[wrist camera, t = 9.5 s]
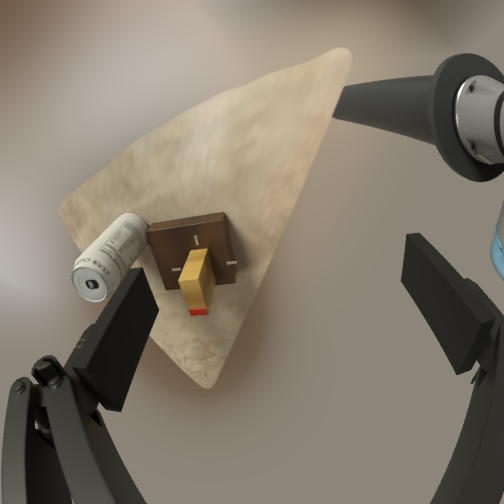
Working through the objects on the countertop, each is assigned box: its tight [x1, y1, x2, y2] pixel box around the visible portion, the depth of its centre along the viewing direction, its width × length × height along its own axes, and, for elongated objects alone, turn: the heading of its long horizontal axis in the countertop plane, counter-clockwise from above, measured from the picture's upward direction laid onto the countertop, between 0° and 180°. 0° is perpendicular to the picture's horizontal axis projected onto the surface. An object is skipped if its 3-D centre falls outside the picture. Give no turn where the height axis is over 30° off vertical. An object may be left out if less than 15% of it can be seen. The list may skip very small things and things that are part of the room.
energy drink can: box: [72, 213, 149, 302], centre depth 35 cm, size 6×6×15 cm
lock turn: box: [178, 248, 216, 316], centre depth 38 cm, size 6×2×8 cm, turn 8°
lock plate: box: [146, 212, 237, 290], centre depth 42 cm, size 12×11×3 cm
